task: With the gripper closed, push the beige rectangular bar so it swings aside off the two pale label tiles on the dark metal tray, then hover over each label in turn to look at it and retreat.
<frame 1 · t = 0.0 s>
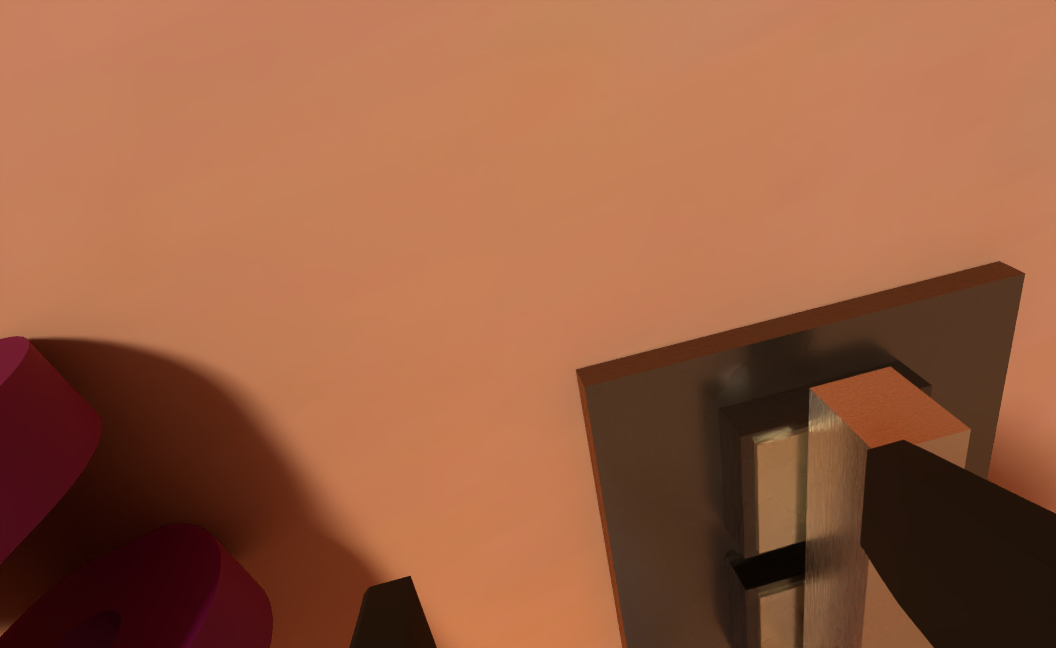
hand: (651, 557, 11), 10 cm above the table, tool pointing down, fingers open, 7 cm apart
beige rectangular bar: (865, 619, 22), point 5 cm above the table, hinge at 0.0°
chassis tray: (791, 515, 26), on the table
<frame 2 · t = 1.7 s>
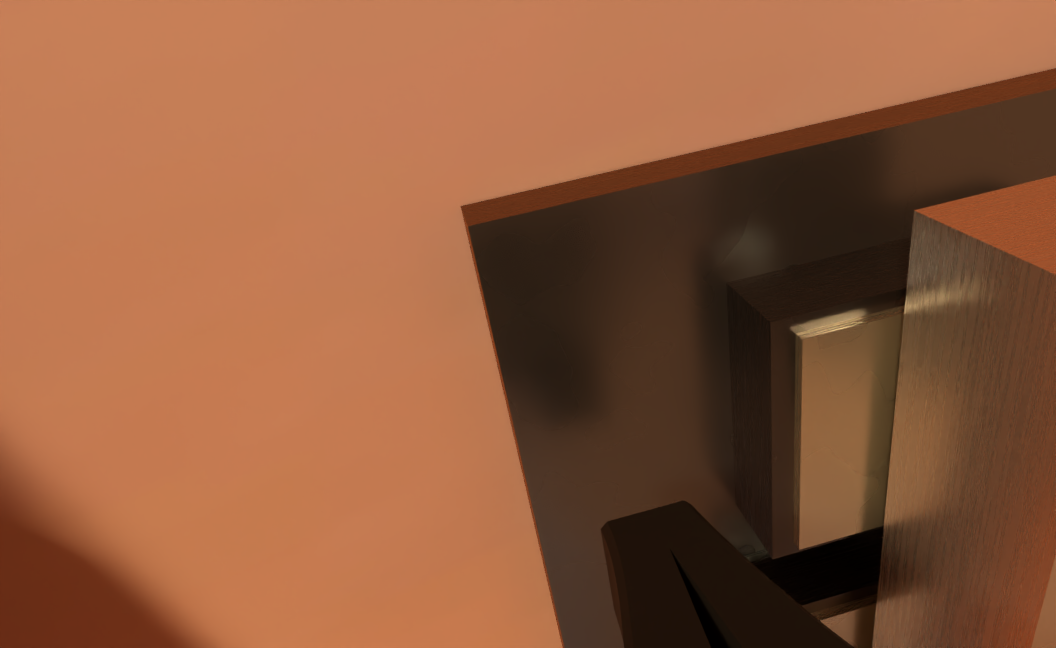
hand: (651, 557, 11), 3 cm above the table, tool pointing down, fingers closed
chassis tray: (842, 488, 16), on the table
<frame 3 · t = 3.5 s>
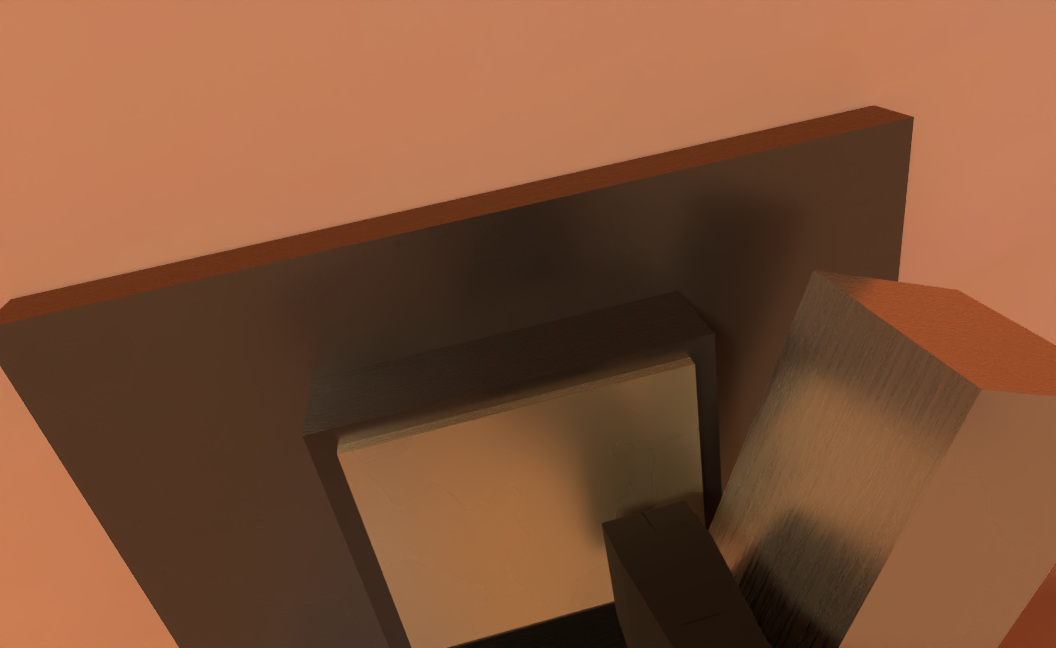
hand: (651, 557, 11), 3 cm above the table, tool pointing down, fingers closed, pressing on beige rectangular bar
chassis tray: (547, 568, 15), on the table
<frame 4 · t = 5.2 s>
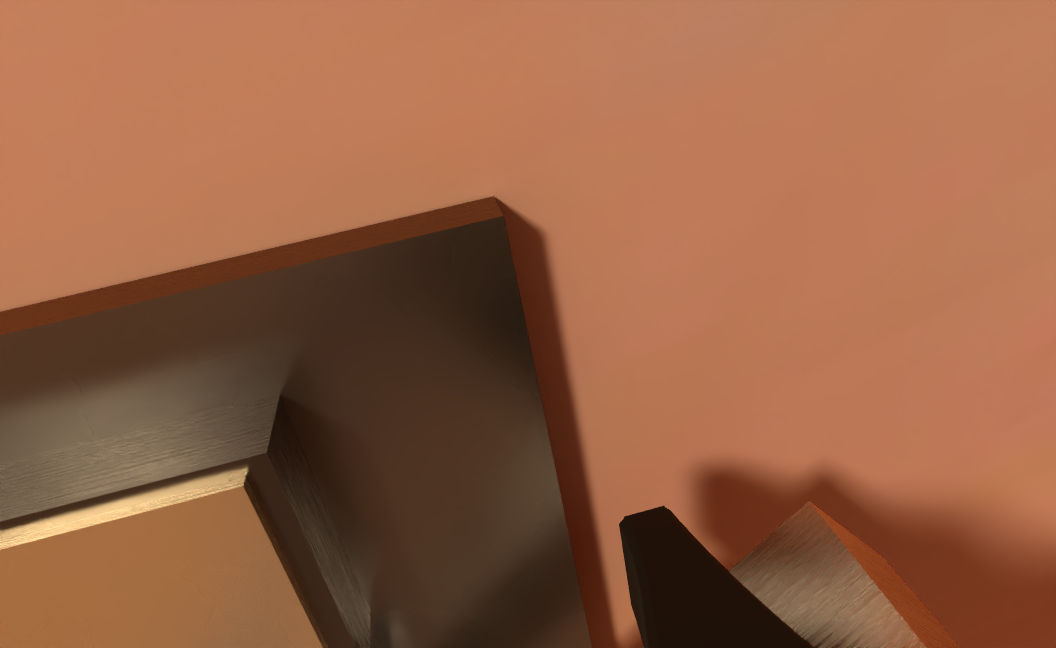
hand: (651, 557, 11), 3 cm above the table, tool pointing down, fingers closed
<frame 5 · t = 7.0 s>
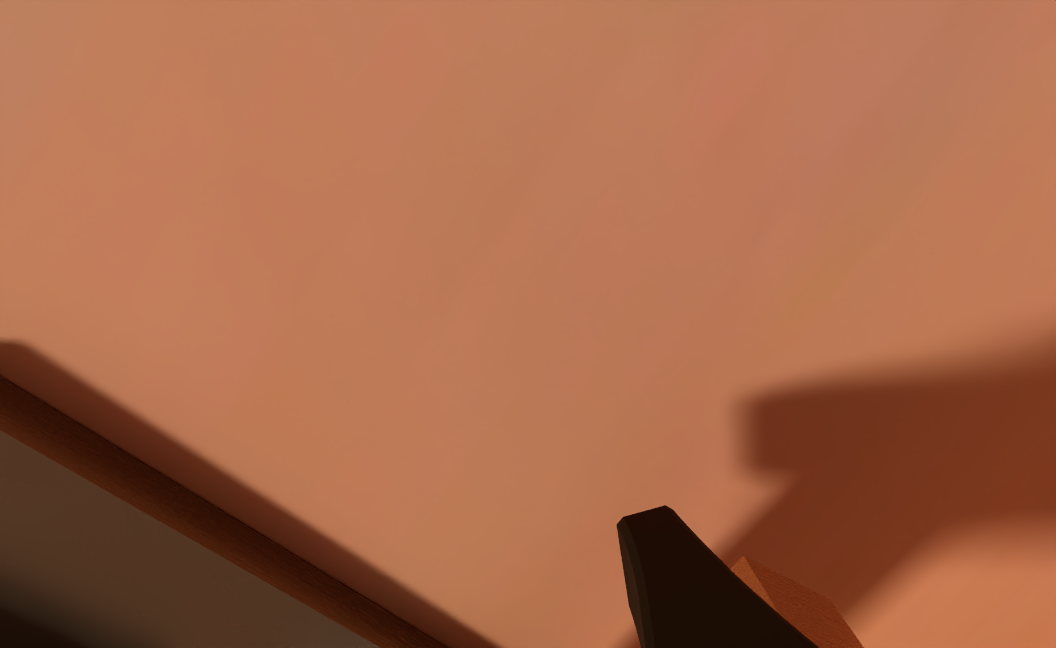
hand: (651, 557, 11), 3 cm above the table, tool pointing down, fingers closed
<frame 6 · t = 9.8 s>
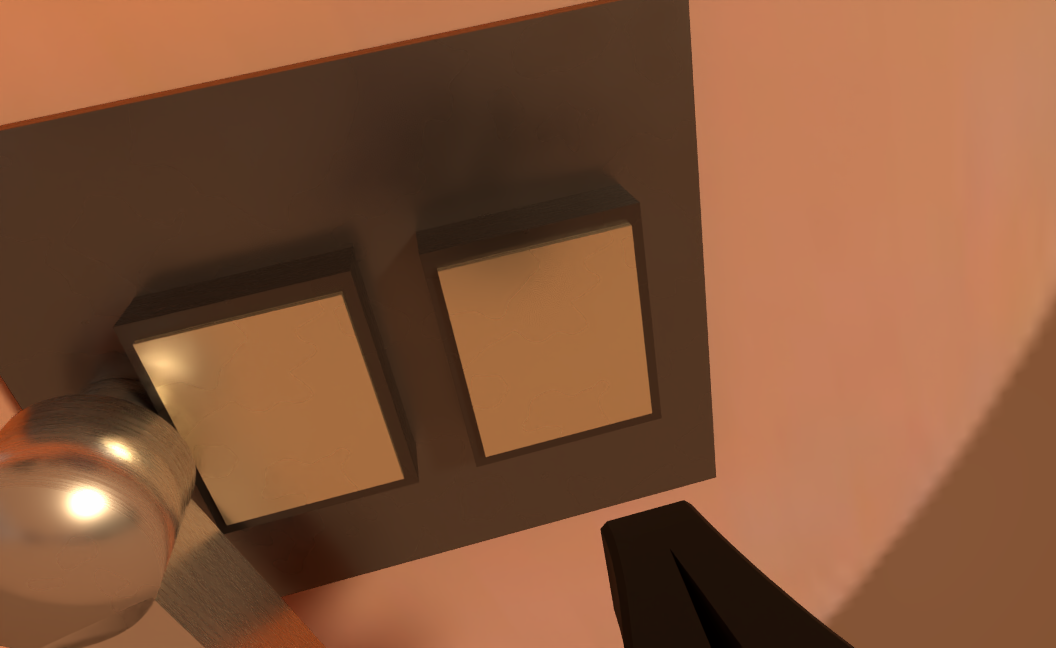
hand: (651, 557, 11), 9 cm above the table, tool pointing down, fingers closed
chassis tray: (386, 336, 19), on the table
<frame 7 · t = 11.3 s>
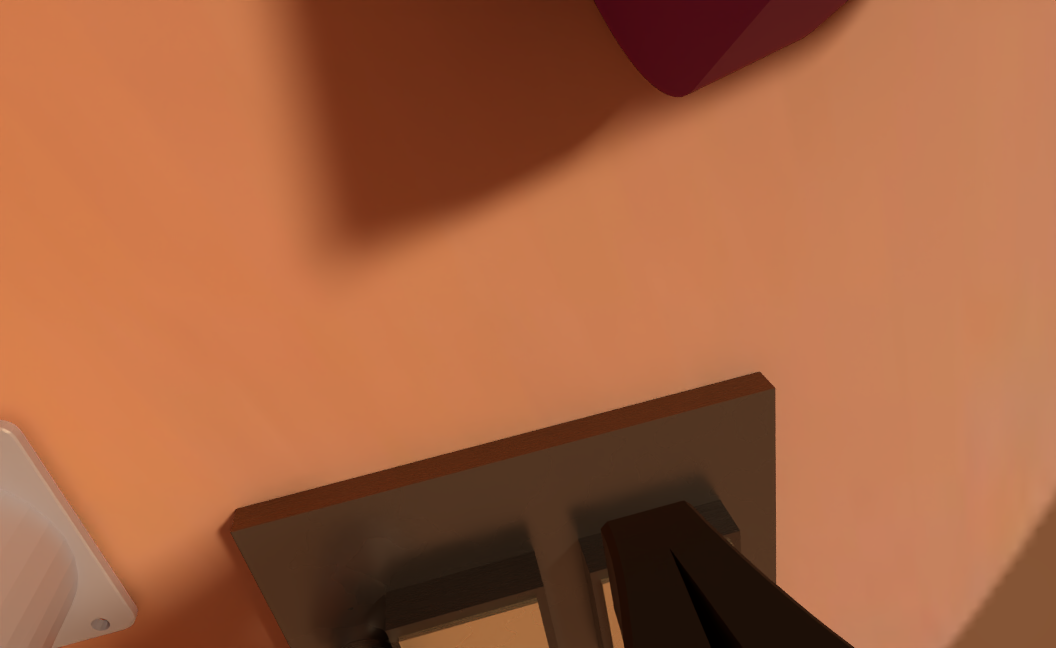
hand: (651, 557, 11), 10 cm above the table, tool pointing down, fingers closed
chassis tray: (542, 589, 25), on the table
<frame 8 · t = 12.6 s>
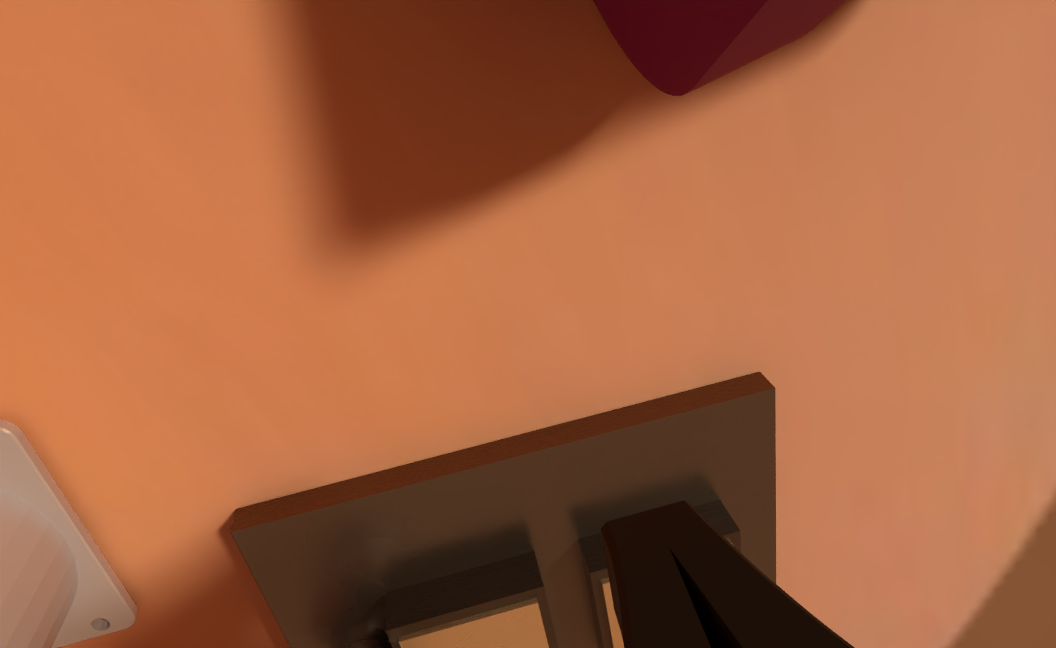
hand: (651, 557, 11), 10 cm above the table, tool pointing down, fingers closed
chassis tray: (542, 589, 25), on the table
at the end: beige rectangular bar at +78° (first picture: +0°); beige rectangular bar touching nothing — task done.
